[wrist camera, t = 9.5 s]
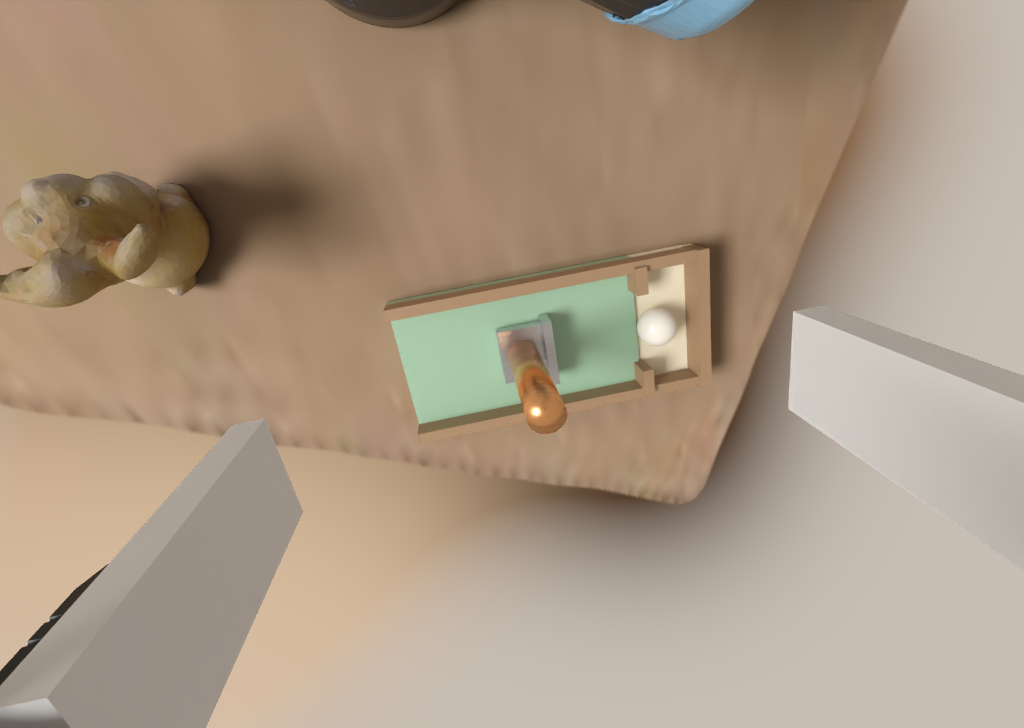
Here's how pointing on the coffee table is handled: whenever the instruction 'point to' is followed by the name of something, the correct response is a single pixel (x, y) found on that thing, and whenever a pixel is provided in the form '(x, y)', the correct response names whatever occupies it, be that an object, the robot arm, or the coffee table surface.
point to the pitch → (556, 338)
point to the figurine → (102, 238)
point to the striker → (533, 372)
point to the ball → (656, 327)
